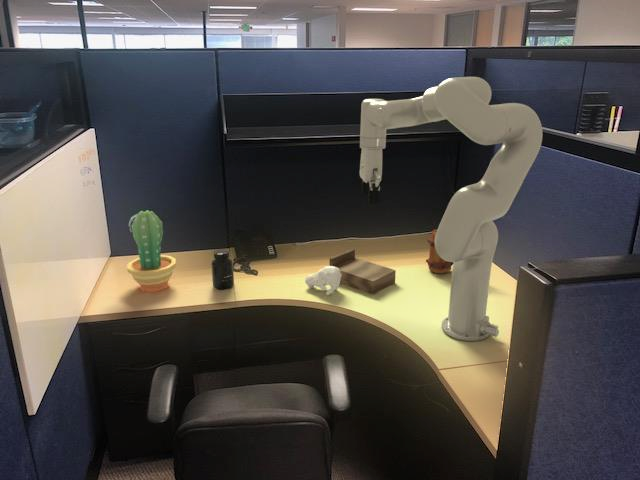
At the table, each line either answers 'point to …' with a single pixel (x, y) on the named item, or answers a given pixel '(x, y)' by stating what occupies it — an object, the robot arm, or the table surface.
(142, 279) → the potted cactus
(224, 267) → the supplement bottle
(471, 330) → the robot arm
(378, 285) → the display ledge
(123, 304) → the table surface
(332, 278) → the white animal figurine
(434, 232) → the mug
